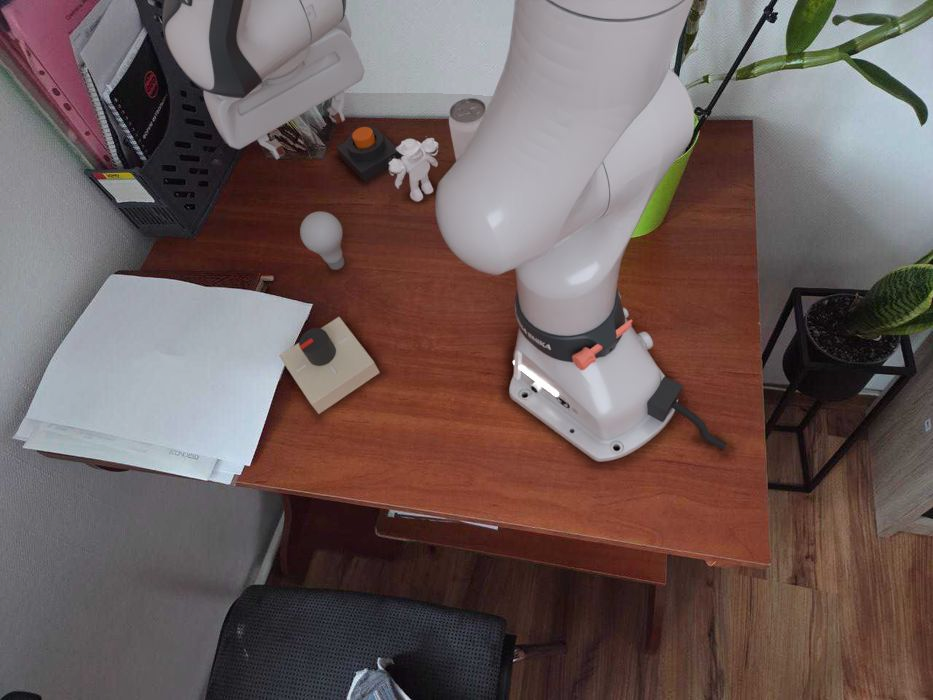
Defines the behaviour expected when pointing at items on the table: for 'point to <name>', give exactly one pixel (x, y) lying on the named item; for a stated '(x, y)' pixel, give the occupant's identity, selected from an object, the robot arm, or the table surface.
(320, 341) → the timer knob
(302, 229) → the lightbulb
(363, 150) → the black button housing
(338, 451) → the table surface
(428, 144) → the white figurine
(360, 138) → the power button
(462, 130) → the can
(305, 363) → the timer panel
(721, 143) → the table surface
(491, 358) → the table surface
